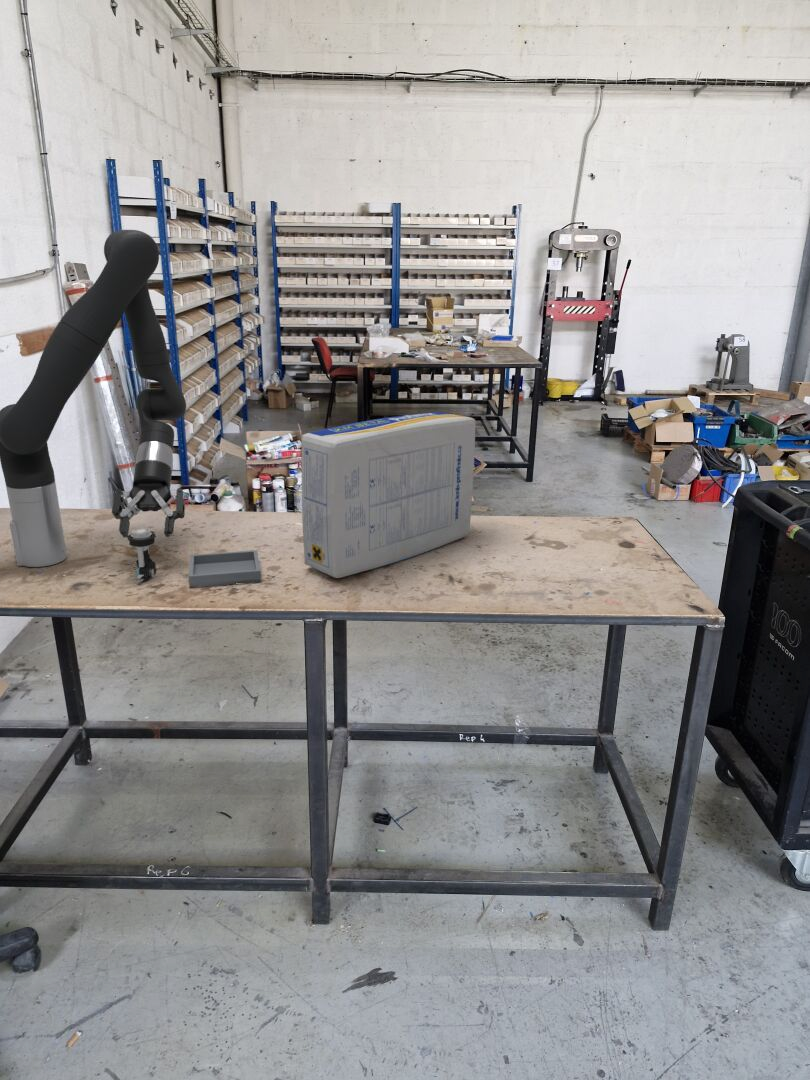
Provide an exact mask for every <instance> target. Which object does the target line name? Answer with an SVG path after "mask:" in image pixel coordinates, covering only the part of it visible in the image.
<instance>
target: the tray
mask: <svg viewBox="0 0 810 1080" xmlns="http://www.w3.org/2000/svg"><path fill="white" fill-rule="evenodd" d="M259 559H260V558H259V554H258V549H256V550H255V549H253V550H242V551H241V550H240V551H228V552H227V551H226V552H214V553H213V552H211V553H210V552H209V553H197V554H190V556H189V569H188V583H189V589H192V588H193V589H194V588H195V587H196V588H207V587H206V586H208V587H219V586H230V585H229V584H233V585H237V584H236V583H245V584H252V583H251V582H257V583H262V574H261V566H260V560H259Z"/></svg>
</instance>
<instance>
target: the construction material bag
mask: <svg viewBox="0 0 810 1080" xmlns="http://www.w3.org/2000/svg"><path fill="white" fill-rule="evenodd" d="M475 446H476V419H475V418H473V417H470V416H466V415H465V416H464V415H460V414H454V413H449V412H443V411H438V412H437V411H436V412H427V413H416V414H408V415H407V414H406V415H398V416H389V417H381V418H375V419H369V420H364V421H359V422H353V423H347V424H343V425H339V426H333V427H329V428H324V429H321V430H313V431H309V432H307V433H305V434H302V435H301V516H302V538H303V539H302V540H303V553H304V564H305V565H306V566H309V567H310V568H313V569H315V570H317V571H319V572H322V573H324V574H326V575H328V576H330V577H333V578H335V579H340V578H345V577H348V576H353V575H355V574H359V573H363V572H366V571H369V570H374V569H377V568H381V567H384V566H387V565H391V564H394V563H396V562H400V561H404V560H406V559H410V558H413V557H416V556H418V555H421V554H423V553H424V554H425V553H426V552H429V551H432V550H434V549H437V548H440V547H442V546H445V545H448V544H450V543H452V542H455V541H457V540H459V539H462V538H465V537H467V535H469V533H470V528H471V517H472V516H471V515H472V502H473V488H474V472H475V471H474V469H475V449H476V447H475Z"/></svg>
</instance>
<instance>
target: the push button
mask: <svg viewBox="0 0 810 1080" xmlns="http://www.w3.org/2000/svg"><path fill="white" fill-rule="evenodd" d="M126 539H127V540H128V541H129V546H131V547H133V548H136V551H137V560H136V570H135V571H136V579H137V581H136V582H137V583H141V582H148V580H149V579H150V578H153V577H154V576H155V575H156V574H157V568H156V567H157V566H156V562H155V561H153V559H152V558H151V554H150V548H149V547H150V546H152V545H153V544H154V543H155V539H156V533H155V532H153V531H151V530H150V528H137V529H133V530H132V531H131V533H130V534H128V537H126Z"/></svg>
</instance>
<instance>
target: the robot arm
mask: <svg viewBox="0 0 810 1080" xmlns="http://www.w3.org/2000/svg"><path fill="white" fill-rule="evenodd" d="M103 254H104V257H105V261H106V263H105V265H104V267H103V268H102V271H101V272H100V274H99V276H98V278H97V279H96V281H94V283H93V284H92V286H90V288H89V289H88V290H86V291H85V292H84V293H83V295H81V296H80V297H79V298H78V299H77V300H76V301H75V302H74V303H73V304H72V305H71V306H70V307H69V308H68V309H67V311H65V313H64V315H63V316H62V317H61V319H60V320H59V321H58V323H57V325H56V327H55V328H54V330H53V331H52V332H51V334H50V336H49V337H48V340H47V342H46V343H45V346H44V349H43V351H42V353H41V356H40V358H39V361H38V364H37V367H36V370H35V371H34V374H33V377H32V380H31V382H30V383H29V385H28V387H27V388H26V389H25V391H24V392H23V393H22V395H21V396H20V398H19V399H18V400H17V402H16V403H12V404H9V405H7V406H4V407H2V408H1V409H0V466H1V470H2V471H1V472H2V474H3V478H4V483H5V488H6V493H7V494H6V495H7V498H8V504H9V510H10V516H11V521H10V523H9V529H10V532H11V539H12V544H13V550H14V555H15V560H16V566H17V567H21V566H24V567H30V568H39V567H41V568H42V567H47V566H52V565H55V564H59V563H61V562H63V561H65V560H66V559H67V558H68V554H67V546H66V541H65V534H64V527H63V521H62V516H61V510H60V509H61V508H60V503H59V498H58V497H59V496H58V492H57V484H56V477H55V471H54V467H53V464H52V461H51V458H50V457H51V456H50V451H49V446H48V441H49V439H50V437H51V434H52V432H53V430H54V428H55V426H56V424H57V422H58V420H59V418H60V415H61V413H62V411H63V410H64V407H65V406H66V404H67V403H68V401H69V399H70V397H72V395H73V393H74V392H75V391H76V390H77V388H78V387H79V385H80V384H81V383H82V382H83V380H84V379H85V377H86V375H87V374H88V373H89V371H90V369H92V367H93V365H94V364H95V363H96V361H97V359H98V357H99V356H100V354H101V353H102V351H103V349H104V348H105V346H106V345H107V343H108V341H109V339H110V337H111V336H112V334H113V332H114V331H115V329H116V327H117V326H118V324H119V322H120V320H121V319H122V317H123V314H124V315H125V319H126V325H127V328H128V332H129V337H130V341H131V348H132V352H133V357H134V360H135V361H134V362H135V364H136V370H137V371H136V372H137V373H138V375H139V377H140V378H141V379H144V380H147V381H155V382H157V383H158V384H159V385H160V386H161V387H162V388H145V389H143V390H141V391H140V392H139V393H138V394H137V396H136V399H135V406H136V410H137V413H138V418H139V427H140V436H139V443H138V444H139V445H138V450H137V453H136V458H135V465H134V472H133V480H132V488H131V489H130V491H129V490H128V491H127V490H125V491H124V490H122V489H121V488H117V489H116V490H115V494H114V498H113V503H112V509H111V514H112V516H113V517H114V518H115V520H119V527H118V532H119V533H120V534H121V535H122V536H123V538H127V537H128V536H129V532H130V523H131V519H132V518H133V517H135V516H137V515H138V514H139V513H140V512H141V511H142V512H144V513H145V512H149V511H151V512H159V510H162V512H163V514H164V515H165V520H164V521H165V522H164V531H163V534H164V536H165V537H166V538H170V537H171V535H173V534H174V531H175V521H176V520H178V519H184V518H185V514H186V512H185V511H186V509H185V508H186V505H185V504H186V495H185V492H184V490H183V488H177V489H176V490H171V485H172V484H171V482H172V474H173V469H174V457H173V456H174V444H175V443H174V442H175V429H174V428H173V427H172V426H171V425H170V424H168V423H166V422H164V421H168V420H170V421H171V420H179V419H181V418H183V417H184V415H185V413H186V411H187V401H186V397H185V396H184V393H183V391H182V389H181V388H180V385H179V384H178V381H177V380H176V376H175V374H174V372H173V370H172V367H171V362H170V357H169V351H168V347H167V342H166V339H165V335H164V332H163V329H162V326H161V323H160V321H159V319H158V317H157V314H156V311H155V309H154V306H153V303H152V300H151V297H150V291H149V283H148V280H149V279H150V278H151V277H152V275H153V274H154V273H155V271H156V269H157V268H158V265H159V260H160V253H159V248H158V244H157V243H156V241H155V240H154V238H153V237H152V236H151V235H150V234H148V233H146V232H144V231H141V230H138V229H119V230H115V231H113V232H111V234H109V235H108V236H107V238H106V240H105V242H104V245H103ZM130 498H131V500H130V501H129V502H128V503H127V505H126V506H125V508H124V504H125V503H126V502H127V501H128V499H130ZM172 498H173V500H174V501H175V503H176V504H175V505H176V506H175V507H176V508H175V510H173V511H172V509H171V508H170V507H169V504H168V502H169V501H170V500H171V499H172Z"/></svg>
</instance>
